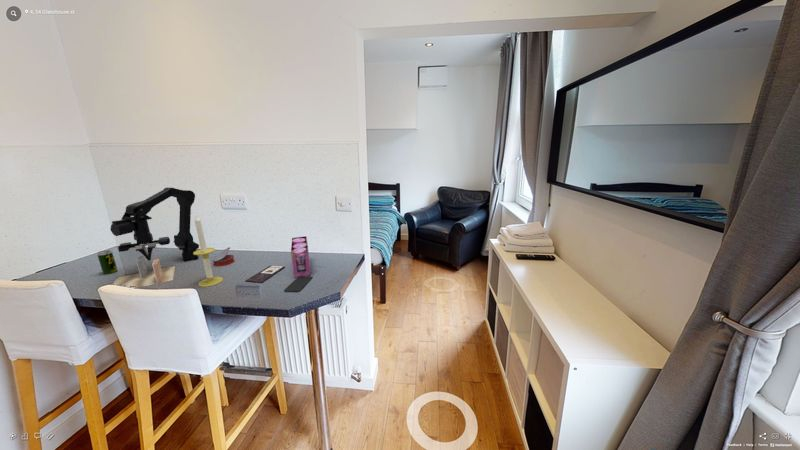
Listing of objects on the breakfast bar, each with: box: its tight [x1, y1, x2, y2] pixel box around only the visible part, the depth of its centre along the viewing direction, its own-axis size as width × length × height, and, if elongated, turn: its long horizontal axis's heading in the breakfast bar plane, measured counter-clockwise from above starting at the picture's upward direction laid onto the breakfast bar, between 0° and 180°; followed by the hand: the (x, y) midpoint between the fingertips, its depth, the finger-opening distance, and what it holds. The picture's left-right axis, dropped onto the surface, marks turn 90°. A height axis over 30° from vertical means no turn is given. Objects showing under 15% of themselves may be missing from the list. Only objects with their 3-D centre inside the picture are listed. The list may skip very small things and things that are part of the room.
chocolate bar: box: [244, 265, 286, 284], centre depth 141 cm, size 9×1×18 cm
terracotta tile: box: [151, 258, 163, 284], centre depth 137 cm, size 2×8×9 cm, turn 34°
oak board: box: [112, 266, 176, 289], centre depth 139 cm, size 23×21×1 cm
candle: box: [193, 214, 224, 288], centre depth 130 cm, size 10×10×32 cm
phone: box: [283, 275, 313, 293], centre depth 130 cm, size 7×1×15 cm
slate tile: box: [136, 255, 149, 278], centre depth 142 cm, size 2×8×9 cm, turn 34°
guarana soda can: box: [96, 249, 119, 276], centre depth 145 cm, size 5×5×12 cm
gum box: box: [290, 236, 311, 278], centre depth 146 cm, size 24×8×14 cm, turn 19°
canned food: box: [212, 246, 235, 267], centre depth 157 cm, size 11×10×10 cm
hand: (149, 260), depth 143 cm, fingers closed
